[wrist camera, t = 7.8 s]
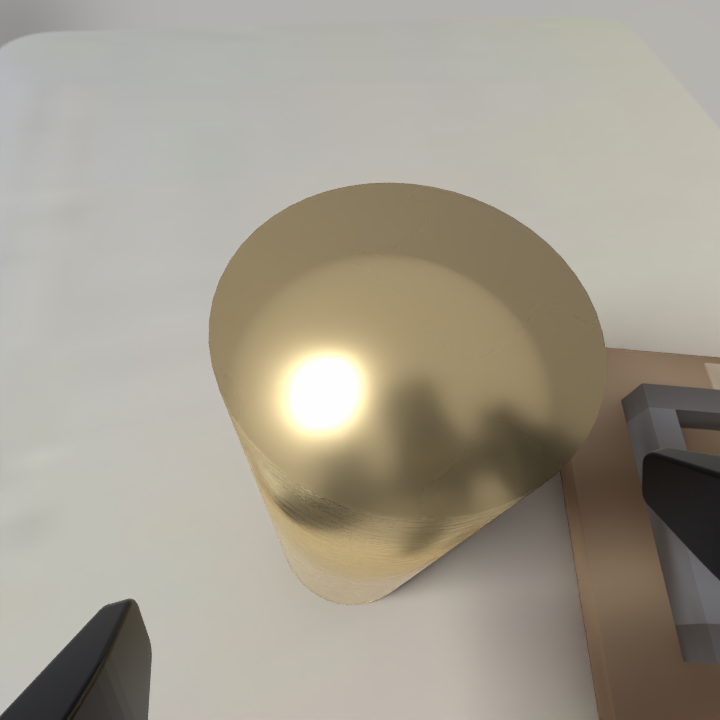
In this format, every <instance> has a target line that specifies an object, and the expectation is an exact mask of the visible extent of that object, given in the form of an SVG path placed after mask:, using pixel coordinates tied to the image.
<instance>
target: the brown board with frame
mask: <svg viewBox="0 0 720 720" xmlns="http://www.w3.org/2000/svg"><path fill="white" fill-rule="evenodd" d="M605 350H606V383H605V390H604V396H603V401H602V404H601V407H600V410H599V413H598V416H597V419H596V421H595V423H594V425H593V427H592V429H591V431H590V433H589V434H588V436H587V438H586V440H585V442H584V443H583V444H582V446H581V447H580V448H579V450H578V451H577V452H576V453H575V455H574V456H573V457H572V459H571V460H570V461H569V462H568V463H567V464H566V465H565V466H564V467H563V468H562V469H560V472H561V478H562V484H563V491H564V497H565V504H566V510H567V516H568V523H569V529H570V535H571V542H572V548H573V554H574V561H575V567H576V574H577V580H578V586H579V593H580V599H581V605H582V612H583V618H584V625H585V631H586V637H587V644H588V650H589V656H590V663H591V669H592V676H593V682H594V688H595V695H596V701H597V707H598V714H599V720H720V581H719V580H718V579H717V578H716V577H715V576H714V575H713V574H712V573H711V572H710V571H709V570H708V569H707V568H706V567H705V566H704V565H703V564H702V563H701V562H700V561H699V560H698V559H697V558H696V557H695V556H694V554H693V553H692V552H691V551H690V550H689V549H688V548H687V547H686V546H685V545H684V544H683V543H682V542H681V541H680V540H679V538H678V537H677V536H676V535H675V534H674V533H673V532H672V531H671V530H670V529H669V528H668V527H667V526H666V525H665V524H664V522H663V521H662V520H661V519H660V518H659V517H658V516H657V515H656V514H655V513H654V512H653V511H652V510H651V509H650V508H649V506H648V505H647V504H646V502H645V501H644V498H643V496H642V461H643V457H644V455H645V454H646V453H648V452H650V451H654V450H657V449H661V448H674V449H680V450H686V451H692V452H699V453H705V454H711V455H717V456H720V358H718V357H707V356H695V355H684V354H672V353H661V352H649V351H638V350H626V349H615V348H605Z"/></svg>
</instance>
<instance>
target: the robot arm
mask: <svg viewBox="0 0 720 720" xmlns="http://www.w3.org/2000/svg"><path fill="white" fill-rule="evenodd" d="M642 496H643V498H644V501H645V502H646V504H647V505H648V506H649V508H650V509H651V510H652V511H653V512H654V513H655V514H656V515H657V516H658V517H659V518H660V519H661V520H662V521H663V522H664V524H665V525H666V526H667V527H668V528H669V529H670V530H671V531H672V532H673V533H674V534H675V535H676V536H677V537H678V538H679V540H680V541H681V542H682V543H683V544H684V545H685V546H686V547H687V548H688V549H689V550H690V551H691V552H692V553H693V554H694V556H695V557H696V558H697V559H698V560H699V561H700V562H701V563H702V564H703V565H704V566H705V567H706V568H707V569H708V570H709V571H710V572H711V573H712V574H713V575H714V576H715V577H716V578H717V579H718V580H719V581H720V456H717V455H711V454H705V453H699V452H692V451H686V450H680V449H674V448H661V449H657V450H654V451H650V452H648V453H646V454H645V455H644V457H643V461H642ZM151 660H152V652H151V644H150V639H149V636H148V633H147V630H146V627H145V624H144V622H143V619H142V616H141V613H140V610H139V607H138V604H137V603H136V601H135V600H133V599H126V600H122V601H119V602H115V603H112V604H108V605H106V606H104V607H103V608H102V609H100V610H99V611H98V613H97V614H96V615H95V616H94V617H93V618H92V619H91V620H90V621H89V622H88V623H87V624H86V625H85V626H84V627H83V628H82V630H81V631H80V632H79V633H78V634H77V635H76V636H75V637H74V638H73V639H72V640H71V641H70V642H69V643H68V644H67V646H66V647H65V648H64V649H63V650H62V651H61V652H60V653H59V654H58V655H57V656H56V657H55V658H54V659H53V660H52V661H51V663H50V664H49V665H48V666H47V667H46V668H45V669H44V670H43V671H42V672H41V673H40V674H39V675H38V676H37V677H36V678H35V680H34V681H33V682H32V683H31V684H30V685H29V686H28V687H27V688H26V689H25V690H24V691H23V692H22V693H21V694H20V696H19V697H18V698H17V699H16V700H15V701H14V702H13V703H12V704H11V705H10V706H9V707H8V708H7V709H6V710H5V711H4V713H3V714H2V715H1V716H0V720H148V708H149V692H150V676H151Z"/></svg>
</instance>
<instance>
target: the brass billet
mask: <svg viewBox="0 0 720 720" xmlns="http://www.w3.org/2000/svg"><path fill="white" fill-rule="evenodd" d="M209 348H210V355H211V362H212V367H213V371H214V374H215V377H216V380H217V383H218V387H219V390H220V392H221V395H222V397H223V400H224V402H225V405H226V407H227V410H228V412H229V415H230V417H231V420H232V422H233V425H234V427H235V430H236V432H237V435H238V437H239V440H240V442H241V445H242V447H243V450H244V452H245V455H246V457H247V460H248V462H249V465H250V467H251V470H252V472H253V475H254V477H255V480H256V482H257V485H258V487H259V490H260V493H261V495H262V498H263V500H264V503H265V505H266V508H267V510H268V513H269V515H270V518H271V520H272V523H273V525H274V528H275V530H276V533H277V535H278V538H279V540H280V543H281V545H282V548H283V550H284V553H285V555H286V558H287V560H288V562H289V564H290V566H291V568H292V570H293V572H294V573H295V575H296V576H297V578H298V579H299V580H300V581H301V582H302V583H303V584H304V585H305V586H306V587H307V588H308V589H309V590H310V591H312V592H313V593H315V594H316V595H318V596H320V597H322V598H324V599H326V600H328V601H332V602H335V603H339V604H346V605H359V604H365V603H369V602H373V601H376V600H378V599H380V598H382V597H385V596H386V595H388V594H389V593H391V592H392V591H394V590H395V589H397V588H398V587H399V586H401V585H402V584H404V583H405V582H406V581H408V580H409V579H411V578H412V577H413V576H415V575H416V574H418V573H419V572H420V571H422V570H423V569H425V568H426V567H427V566H429V565H430V564H432V563H433V562H434V561H436V560H437V559H439V558H440V557H441V556H443V555H444V554H446V553H447V552H448V551H450V550H451V549H453V548H454V547H455V546H457V545H458V544H460V543H461V542H462V541H464V540H465V539H467V538H468V537H469V536H471V535H472V534H474V533H475V532H476V531H478V530H479V529H481V528H482V527H484V526H485V525H486V524H488V523H489V522H491V521H492V520H493V519H495V518H496V517H498V516H499V515H500V514H502V513H503V512H505V511H506V510H507V509H509V508H510V507H512V506H513V505H514V504H516V503H517V502H519V501H520V500H521V499H523V498H524V497H526V496H527V495H528V494H530V493H531V492H533V491H534V490H535V489H537V488H538V487H540V486H541V485H542V484H544V483H545V482H547V481H548V480H549V479H551V478H552V477H553V476H554V475H555V474H556V473H557V472H558V471H559V470H560V469H562V468H563V467H564V466H565V465H566V464H567V463H568V462H569V461H570V460H571V459H572V457H573V456H574V455H575V453H576V452H577V451H578V450H579V448H580V447H581V446H582V444H583V443H584V442H585V440H586V438H587V436H588V434H589V433H590V431H591V429H592V427H593V425H594V423H595V421H596V419H597V416H598V413H599V410H600V407H601V404H602V401H603V396H604V390H605V383H606V350H605V344H604V338H603V332H602V329H601V326H600V323H599V320H598V316H597V313H596V311H595V309H594V307H593V304H592V302H591V300H590V298H589V296H588V294H587V292H586V290H585V289H584V287H583V286H582V284H581V282H580V281H579V279H578V278H577V276H576V275H575V273H574V272H573V271H572V270H571V268H570V267H569V266H568V265H567V263H566V262H565V261H564V260H563V258H562V257H561V256H560V255H559V254H558V253H557V252H556V251H555V250H554V249H553V248H552V247H551V246H550V245H549V244H548V243H547V242H546V241H544V240H543V239H542V238H541V237H539V236H538V235H537V234H536V233H534V232H533V231H532V230H531V229H529V228H528V227H526V226H525V225H523V224H522V223H520V222H519V221H517V220H516V219H514V218H513V217H511V216H509V215H508V214H506V213H504V212H502V211H500V210H498V209H496V208H495V207H493V206H490V205H488V204H485V203H483V202H481V201H478V200H476V199H474V198H471V197H468V196H465V195H462V194H459V193H456V192H452V191H448V190H444V189H439V188H435V187H430V186H423V185H416V184H404V183H370V184H362V185H354V186H347V187H343V188H338V189H334V190H330V191H326V192H323V193H320V194H317V195H315V196H312V197H309V198H306V199H304V200H302V201H300V202H298V203H296V204H293V205H291V206H289V207H288V208H286V209H284V210H283V211H281V212H279V213H278V214H276V215H275V216H273V217H271V218H270V219H269V220H268V221H266V222H265V223H264V224H263V225H261V226H260V227H259V228H258V229H256V230H255V231H254V232H253V233H252V234H251V235H250V236H249V237H248V239H247V240H246V241H245V242H244V243H243V244H242V245H241V246H240V248H239V249H238V250H237V252H236V253H235V254H234V256H233V257H232V258H231V260H230V261H229V263H228V265H227V267H226V269H225V271H224V273H223V274H222V276H221V278H220V281H219V283H218V286H217V289H216V292H215V295H214V298H213V302H212V307H211V313H210V319H209Z"/></svg>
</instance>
